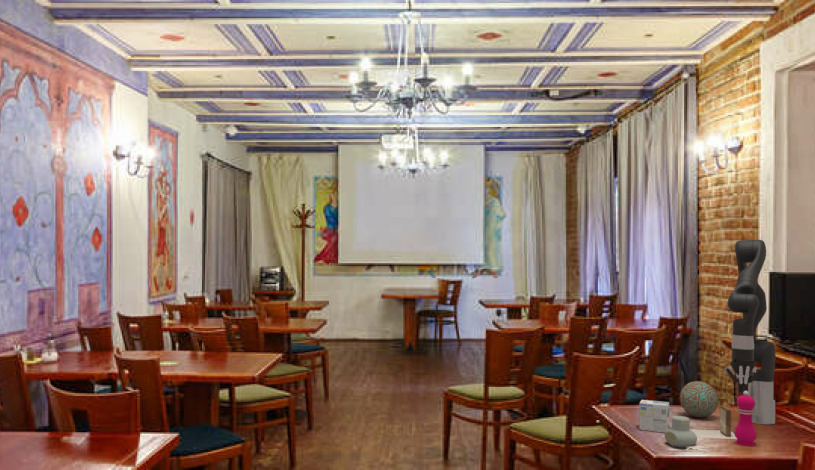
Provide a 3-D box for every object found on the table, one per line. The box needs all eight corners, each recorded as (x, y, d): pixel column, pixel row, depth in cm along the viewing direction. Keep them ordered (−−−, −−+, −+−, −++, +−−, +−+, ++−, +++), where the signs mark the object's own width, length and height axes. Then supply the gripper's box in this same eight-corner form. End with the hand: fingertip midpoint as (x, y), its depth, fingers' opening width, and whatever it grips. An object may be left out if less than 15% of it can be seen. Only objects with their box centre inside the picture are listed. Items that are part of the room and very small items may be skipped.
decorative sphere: (684, 420, 296) (685, 383, 297) (675, 412, 311) (676, 377, 312) (722, 422, 295) (723, 385, 295) (711, 413, 310) (712, 378, 310)
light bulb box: (669, 429, 281) (669, 401, 281) (667, 433, 275) (668, 405, 275) (640, 426, 286) (641, 399, 286) (638, 430, 280) (639, 402, 280)
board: (730, 434, 276) (730, 430, 276) (742, 442, 264) (742, 439, 264) (676, 431, 278) (676, 428, 278) (685, 440, 266) (685, 436, 266)
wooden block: (724, 432, 274) (724, 405, 274) (730, 437, 267) (731, 409, 267) (719, 432, 274) (719, 405, 274) (725, 436, 267) (726, 409, 267)
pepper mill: (730, 444, 261) (730, 388, 261) (749, 444, 262) (750, 388, 262) (741, 450, 254) (741, 392, 254) (760, 449, 254) (761, 392, 255)
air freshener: (700, 449, 254) (700, 420, 254) (680, 450, 252) (680, 421, 252) (680, 441, 265) (680, 413, 265) (661, 442, 262) (661, 414, 262)
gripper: (757, 346, 273) (756, 392, 273) (721, 345, 275) (720, 391, 274) (765, 349, 266) (764, 396, 265) (727, 347, 267) (727, 395, 267)
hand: (742, 393), depth 270 cm, fingers closed
